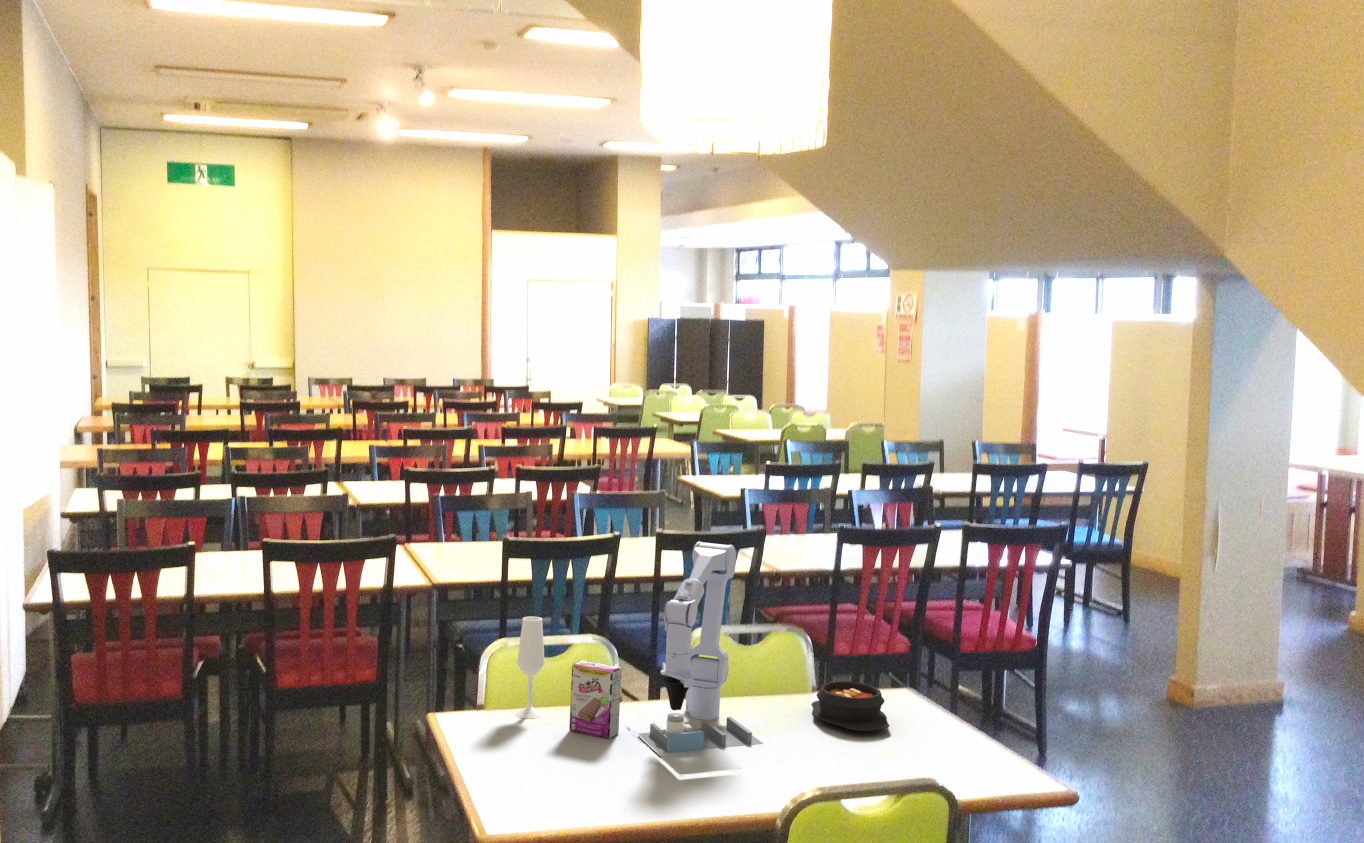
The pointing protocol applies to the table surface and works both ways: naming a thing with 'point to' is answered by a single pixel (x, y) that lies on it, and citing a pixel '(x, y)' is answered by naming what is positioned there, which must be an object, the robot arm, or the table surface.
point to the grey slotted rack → (698, 737)
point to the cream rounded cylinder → (675, 723)
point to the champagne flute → (531, 659)
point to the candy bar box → (595, 699)
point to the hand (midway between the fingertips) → (675, 709)
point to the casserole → (851, 706)
